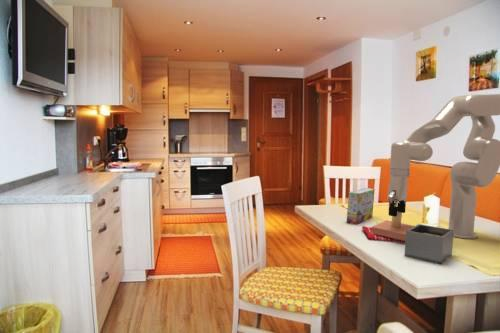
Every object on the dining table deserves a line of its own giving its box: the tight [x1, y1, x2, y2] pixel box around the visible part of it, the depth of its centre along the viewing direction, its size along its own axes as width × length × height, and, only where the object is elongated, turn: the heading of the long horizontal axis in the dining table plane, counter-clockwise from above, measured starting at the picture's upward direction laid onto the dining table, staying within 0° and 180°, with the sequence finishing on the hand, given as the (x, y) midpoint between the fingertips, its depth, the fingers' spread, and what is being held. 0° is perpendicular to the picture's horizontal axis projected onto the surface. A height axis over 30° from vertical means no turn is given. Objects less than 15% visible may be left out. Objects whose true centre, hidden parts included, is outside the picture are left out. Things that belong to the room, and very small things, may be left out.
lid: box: [371, 212, 415, 241], centre depth 158 cm, size 16×14×9 cm
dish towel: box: [361, 225, 405, 244], centre depth 160 cm, size 17×24×3 cm
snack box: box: [346, 187, 375, 226], centre depth 188 cm, size 21×6×15 cm, turn 143°
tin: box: [403, 223, 454, 265], centre depth 136 cm, size 14×12×9 cm
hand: (396, 214), depth 158 cm, fingers open, 9 cm apart
